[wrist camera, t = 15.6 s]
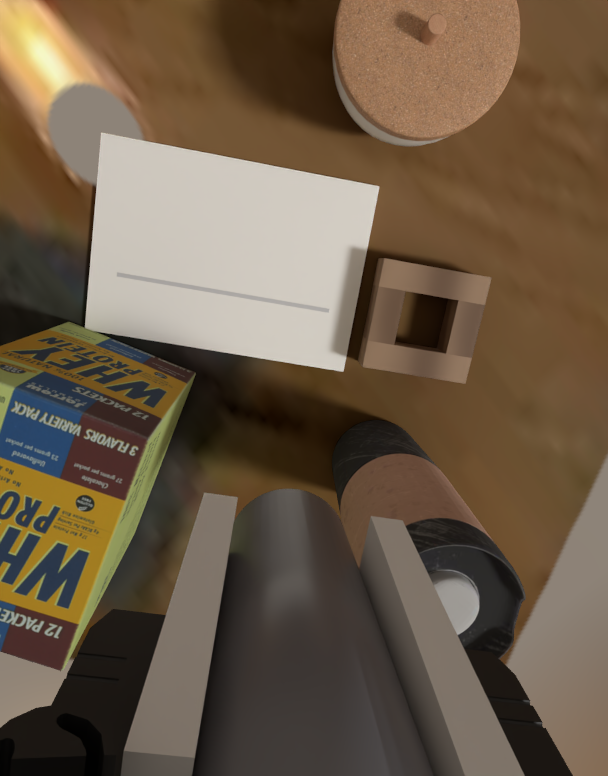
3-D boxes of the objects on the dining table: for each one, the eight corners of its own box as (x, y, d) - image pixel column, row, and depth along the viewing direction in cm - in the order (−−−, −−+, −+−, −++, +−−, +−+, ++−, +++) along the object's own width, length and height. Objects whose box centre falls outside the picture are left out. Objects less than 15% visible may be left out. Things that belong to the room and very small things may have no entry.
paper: (86, 329, 41) (84, 329, 41) (102, 133, 38) (100, 132, 38) (342, 370, 43) (343, 371, 42) (378, 186, 40) (379, 186, 39)
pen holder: (357, 360, 43) (362, 366, 40) (378, 258, 41) (384, 258, 38) (454, 376, 43) (465, 383, 41) (479, 276, 42) (491, 277, 39)
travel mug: (309, 451, 44) (335, 602, 25) (386, 397, 44) (474, 509, 24) (362, 519, 46) (424, 711, 26) (437, 468, 45) (558, 627, 26)
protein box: (198, 369, 42) (152, 437, 27) (134, 535, 45) (61, 678, 30) (66, 317, 41) (-60, 358, 26) (10, 492, 44) (-131, 620, 29)
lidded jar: (439, -36, 37) (494, -134, 27) (495, 120, 39) (561, 77, 30) (297, 38, 37) (304, -34, 28) (360, 187, 40) (386, 165, 31)
